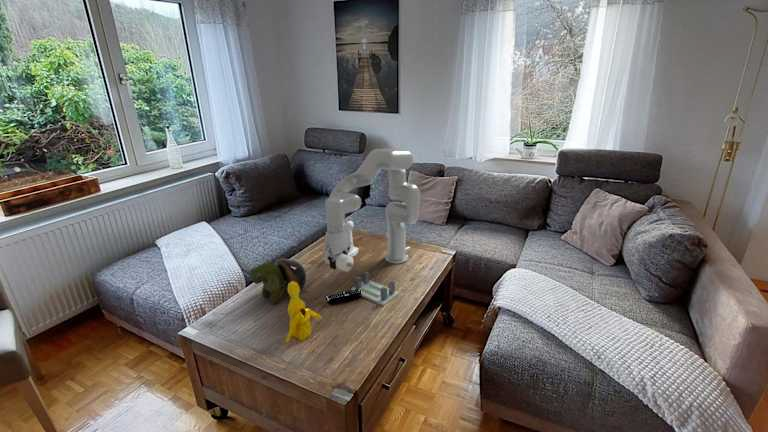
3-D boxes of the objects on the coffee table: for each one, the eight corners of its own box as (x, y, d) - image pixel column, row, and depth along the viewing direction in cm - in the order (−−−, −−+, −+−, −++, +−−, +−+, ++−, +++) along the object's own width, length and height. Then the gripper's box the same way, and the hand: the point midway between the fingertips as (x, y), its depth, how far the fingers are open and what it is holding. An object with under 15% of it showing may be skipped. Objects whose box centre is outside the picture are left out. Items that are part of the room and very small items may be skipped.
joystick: (347, 259, 198) (345, 225, 191) (336, 256, 202) (334, 222, 195) (360, 252, 206) (358, 218, 199) (349, 248, 210) (348, 216, 203)
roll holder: (366, 281, 177) (366, 269, 175) (398, 294, 166) (398, 282, 164) (351, 291, 169) (350, 278, 167) (383, 306, 158) (383, 293, 156)
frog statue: (307, 303, 169) (257, 313, 151) (289, 288, 179) (239, 296, 161) (315, 265, 166) (265, 270, 147) (296, 252, 176) (246, 255, 157)
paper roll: (332, 258, 166) (331, 245, 164) (357, 268, 158) (356, 255, 155) (321, 265, 162) (320, 251, 159) (346, 275, 153) (345, 261, 151)
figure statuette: (291, 351, 133) (284, 299, 125) (276, 343, 137) (269, 292, 129) (325, 325, 146) (322, 277, 138) (311, 318, 150) (307, 271, 143)
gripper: (344, 218, 161) (346, 254, 168) (314, 231, 149) (318, 270, 155) (357, 222, 157) (359, 259, 163) (327, 236, 144) (330, 276, 151)
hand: (339, 264), depth 159 cm, fingers closed on paper roll, 6 cm apart
